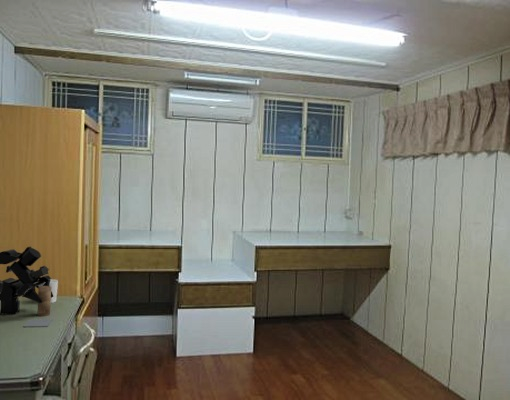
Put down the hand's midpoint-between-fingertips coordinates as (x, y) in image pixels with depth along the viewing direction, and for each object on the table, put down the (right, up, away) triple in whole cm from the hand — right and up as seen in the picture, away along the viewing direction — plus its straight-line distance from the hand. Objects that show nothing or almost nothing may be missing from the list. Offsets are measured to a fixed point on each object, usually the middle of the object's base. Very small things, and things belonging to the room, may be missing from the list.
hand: (47, 299), depth 201 cm
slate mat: (+2, -7, -12) cm, 14 cm away
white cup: (-9, -6, +21) cm, 24 cm away
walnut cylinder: (-2, -7, 0) cm, 7 cm away
